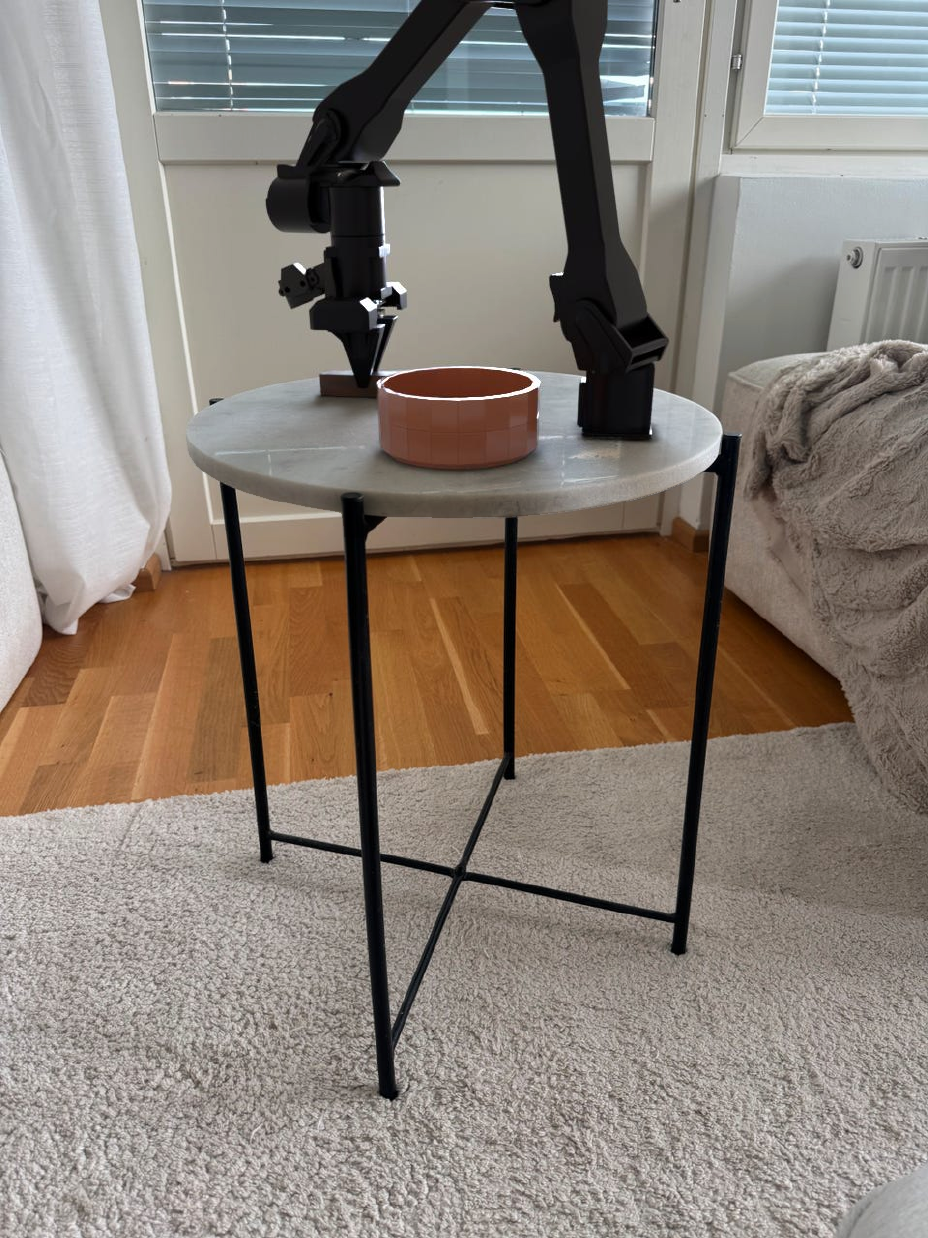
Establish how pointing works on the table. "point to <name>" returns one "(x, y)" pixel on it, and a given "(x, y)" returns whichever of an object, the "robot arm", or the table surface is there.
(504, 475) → the table surface
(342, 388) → the stick
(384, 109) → the robot arm
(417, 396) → the bowl
